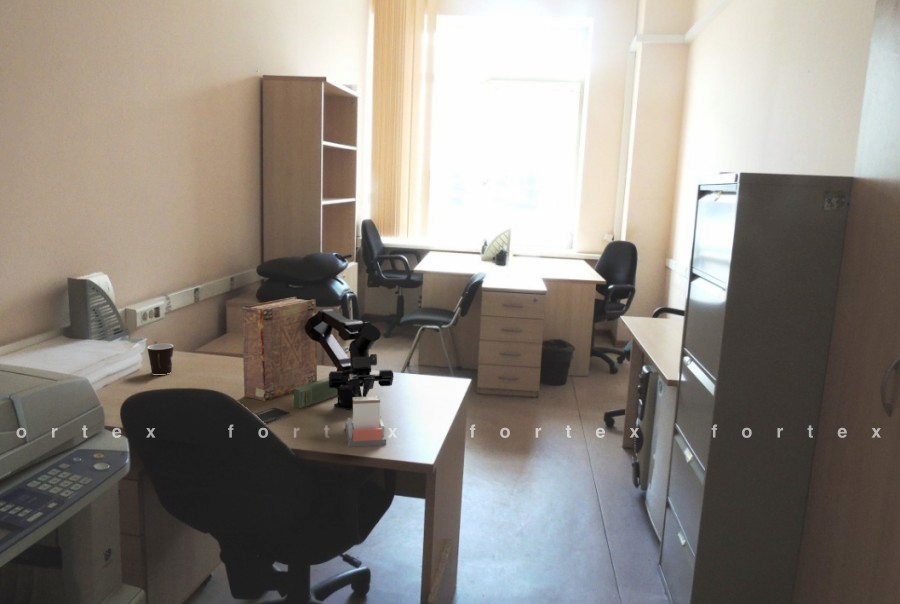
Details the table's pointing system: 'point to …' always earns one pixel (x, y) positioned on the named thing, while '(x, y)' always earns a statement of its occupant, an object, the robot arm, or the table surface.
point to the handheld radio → (313, 393)
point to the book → (277, 347)
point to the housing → (365, 435)
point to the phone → (272, 415)
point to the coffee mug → (160, 358)
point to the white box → (366, 412)
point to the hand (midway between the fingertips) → (362, 405)
